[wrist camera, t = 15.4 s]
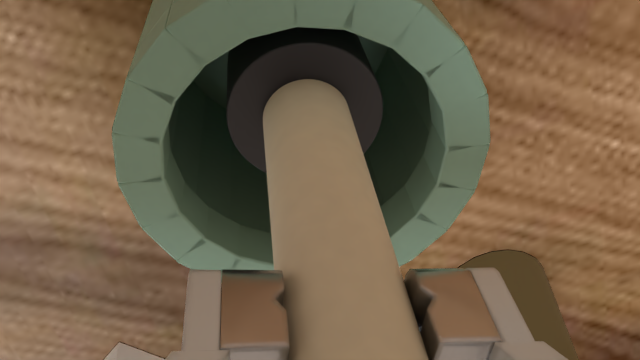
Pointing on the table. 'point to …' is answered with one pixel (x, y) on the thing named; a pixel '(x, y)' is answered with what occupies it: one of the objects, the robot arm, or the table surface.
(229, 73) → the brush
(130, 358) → the white cube
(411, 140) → the jar
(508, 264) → the brown pawn
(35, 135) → the table surface
